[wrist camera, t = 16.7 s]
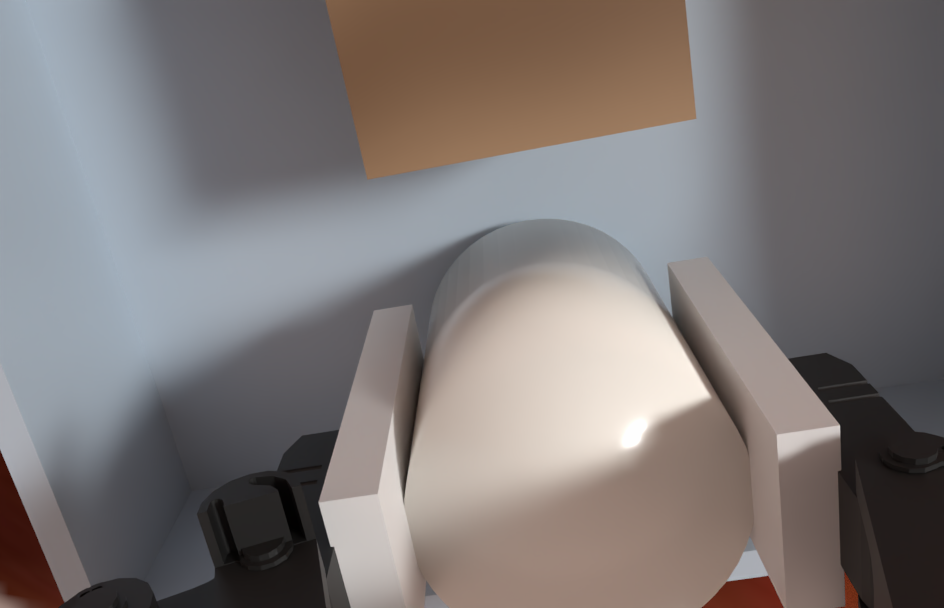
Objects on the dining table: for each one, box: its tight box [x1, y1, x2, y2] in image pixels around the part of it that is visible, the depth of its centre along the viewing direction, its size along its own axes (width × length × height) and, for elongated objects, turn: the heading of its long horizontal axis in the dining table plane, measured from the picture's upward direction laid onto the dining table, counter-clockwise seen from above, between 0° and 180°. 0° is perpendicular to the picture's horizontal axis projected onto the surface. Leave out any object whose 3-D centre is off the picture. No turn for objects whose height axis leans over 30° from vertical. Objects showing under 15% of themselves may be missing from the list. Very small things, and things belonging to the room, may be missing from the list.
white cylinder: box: [404, 219, 754, 608], centre depth 16 cm, size 5×5×7 cm
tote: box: [0, 0, 944, 608], centre depth 16 cm, size 15×19×6 cm
